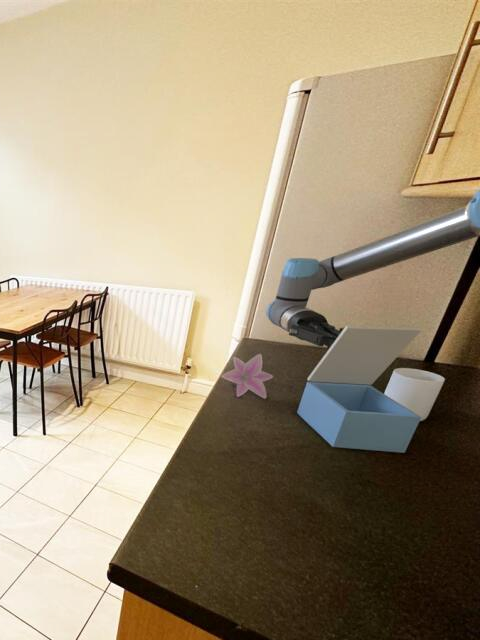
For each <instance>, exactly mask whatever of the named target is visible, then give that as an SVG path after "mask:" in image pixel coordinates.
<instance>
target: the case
mask: <svg viewBox="0 0 480 640" xmlns="http://www.w3.org/2000/svg"><path fill="white" fill-rule="evenodd" d="M300 399H301V400H300V402H299V406H298V409H297V411H296V414H297V415H298V416H300V418H302V419H303V420H304V422H306V423H307V424H308V425H309V426H310V427H311V428H312V429H313V430H314V431H315V432H317V433H318V435H320V437H322V438H323V439H324V441H326V442H327V443H328V444H329V445H330V446H331V448H342V449H353V450H365V451H377V452H378V451H379V452H390V453H403V454H405V453H406V451H407V448H408V446H409V445H410V442H411V441H412V438H413V435H414V434H415V432H416V430H417V427H418V426H419V423H420V422H421V421H420V419H421V417H420V416H419V415H417V414H415V413H414V412H412V411H411V410H409V409H407V408H406V407H404V406H403V405H401V404H399V403H398V402H396V401H394V400H393V399H391V398H390V397H388V396H386V395H385V394H384V392H382V391H380V390H379V389H377V388H375V387H374V386H372V385H368V384H349V383H331V382H312V381H307V382H306V384H305V387H304V390H303V393H302V397H301V398H300Z"/></svg>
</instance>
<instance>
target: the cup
mask: <svg viewBox="0 0 480 640" xmlns="http://www.w3.org/2000/svg"><path fill="white" fill-rule="evenodd" d="M445 381H446V378H445V377H443V376H442V375H440V374H437V373H434V372H431V371H427V370H423V369H417V368H410V367H399V368H394V369H393V371H392V374H391V376H390V379H389V381H388V383H387V385H386V388H385V390H384V392H383V394H385V395H386V396H388V397H390V398H391V399H393V400H394V401H396V402H398V403H399V404H401V405H403V406H404V407H406V408H407V409H409V410H411V411H412V412H414V413H415V414H417V415H419V416H420V417H421V419H420V421H419V422H423V421H425V420H426V419H428V417H429V415H430V412H431V410H432V409H433V406H434V404H435V402H436V400H437V398H438V395H439V394H440V391H441V389H442V387H443V385H444V383H445Z"/></svg>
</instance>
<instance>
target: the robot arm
mask: <svg viewBox="0 0 480 640" xmlns="http://www.w3.org/2000/svg"><path fill="white" fill-rule="evenodd" d="M472 196H473V197H471V200H470V201H469V202H468V203H467V205H464V206H462V207H460V208H457V209H455V210H452V211H449V212H446V213H444V214H441V215H439V216H436V217H434V218H431V219H428V220H426V221H423V222H421V223H418V224H414V225H413V226H410V227H407V228H405V229H401V230H400V231H397V232H394V233H392V234H389V235H386V236H383V237H381V238H378V239H376V240H373V241H371V242H368V243H364V244H362V245H360V246H357V247H355V248H352V249H350V250H346V251H344V252H341V253H339V254H336V255H333V256H331V257H328V258H325V259H322V260H318V259H316V258H311V257H309V258H308V257H293V258H289V259H287V260H286V261H285V265H284V267H283V270H282V271H281V277H280V280H279V285H278V289H277V292H276V296H275V299H274V300H273V301H271V302H270V303H269V304H268V305H267V307H266V310H265V315H266V317H267V320H269V321H270V322H271V323H272V324H273V325H275V326H277V327H279V328H281V329H283V330H284V331H286V332H287V333H288V336H291V337H295V338H297V339H298V340H301V341H306V342H308V343H310V344H313V345H315V346H318V347H324V346H326V350H327V351H328V350H329V348H330V347H331V346H332V344H333V343H334V342H335V340H336V339H337V337H338V336H339V335H340V333H341V332H342V331H343V329H344V328H345V327H346V326H343V327H339V328H336V326H334V325H331V324H330V323H329V322H328V320H327V318H326V317H325V315H323V314H322V313H319V312H317V311H316V310H313V309H311V308H308V307H307V306H308V302H309V299H310V296H311V293H312V291H313V290H319V289H325V288H327V287H331V286H333V285H334V284H337V283H341V282H344V281H346V280H349V279H352V278H355V277H359V276H362V275H365V274H368V273H370V272H374V271H376V270H380V269H384V268H386V267H389V266H392V265H395V264H398V263H401V262H404V261H408V260H410V259H413V258H417V257H420V256H423V255H426V254H429V253H432V252H434V251H438V250H440V249H444V248H447V247H450V246H453V245H456V244H459V243H463V242H465V241H468V240H471V239H475V238H477V237H480V188H479V189H478V190H477V191H476V192H475V194H474V195H472Z"/></svg>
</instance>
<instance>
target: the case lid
mask: <svg viewBox="0 0 480 640" xmlns="http://www.w3.org/2000/svg"><path fill="white" fill-rule="evenodd" d="M344 327H345V328H344V329H343V331H342V332H341V333H340V335H339V336H338V337H337V339H336V340H335V342H334V343H333V344H332V346H331V347H330V348H329V350H327V351H326V352H325V354H323V357H321V359H320V360H319V362H318V363H317V365H316V366H315V367H314V369H313V370H312V371H311V373H310V374H309V376H308V377H307V382H317V383H335V384H354V385H370V386H372V385H373V384H374V383H375V382H376V381H377V380H378V379H379V377H381V375H382V374H383V373H384V372H385V371H386V370H387V369H388V368H389V366H391V365H392V363H393V362H394V361H396V359H397V358H398V357H399V356H400V355H401V354H402V353H403V351H404V350H405V349H407V347H408V346H409V345H410V344H411V343H412V341H414V339H416V337H418V335H419V334H420V333H421V332H422V331H423V330H422V328H421V327H409V326H408V327H407V326H406V327H405V326H372V325H371V326H369V325H345V326H344Z"/></svg>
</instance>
